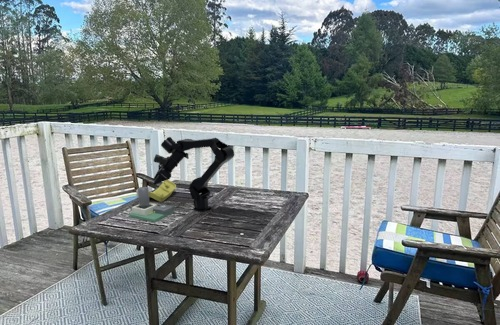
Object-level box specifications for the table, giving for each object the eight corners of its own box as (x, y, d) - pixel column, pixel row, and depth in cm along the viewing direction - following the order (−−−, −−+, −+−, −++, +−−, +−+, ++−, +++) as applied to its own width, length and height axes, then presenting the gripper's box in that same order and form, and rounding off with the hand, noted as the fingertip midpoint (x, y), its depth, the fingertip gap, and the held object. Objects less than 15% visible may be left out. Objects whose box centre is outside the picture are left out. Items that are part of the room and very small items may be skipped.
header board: (174, 212, 183) (173, 204, 182) (154, 222, 171) (154, 213, 170) (149, 207, 190) (148, 199, 189) (129, 216, 178) (128, 208, 177)
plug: (150, 209, 184) (148, 186, 181) (150, 212, 179) (148, 189, 176) (138, 210, 182) (136, 187, 180) (137, 214, 178) (135, 190, 175)
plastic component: (162, 198, 197) (146, 189, 198) (158, 209, 200) (143, 200, 201) (179, 185, 215) (164, 177, 216) (175, 195, 218) (160, 187, 219)
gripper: (162, 145, 194) (142, 167, 194) (162, 152, 176) (140, 176, 176) (178, 159, 197) (158, 180, 197) (180, 167, 180) (158, 190, 180)
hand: (153, 181), depth 188 cm, fingers open, 9 cm apart
